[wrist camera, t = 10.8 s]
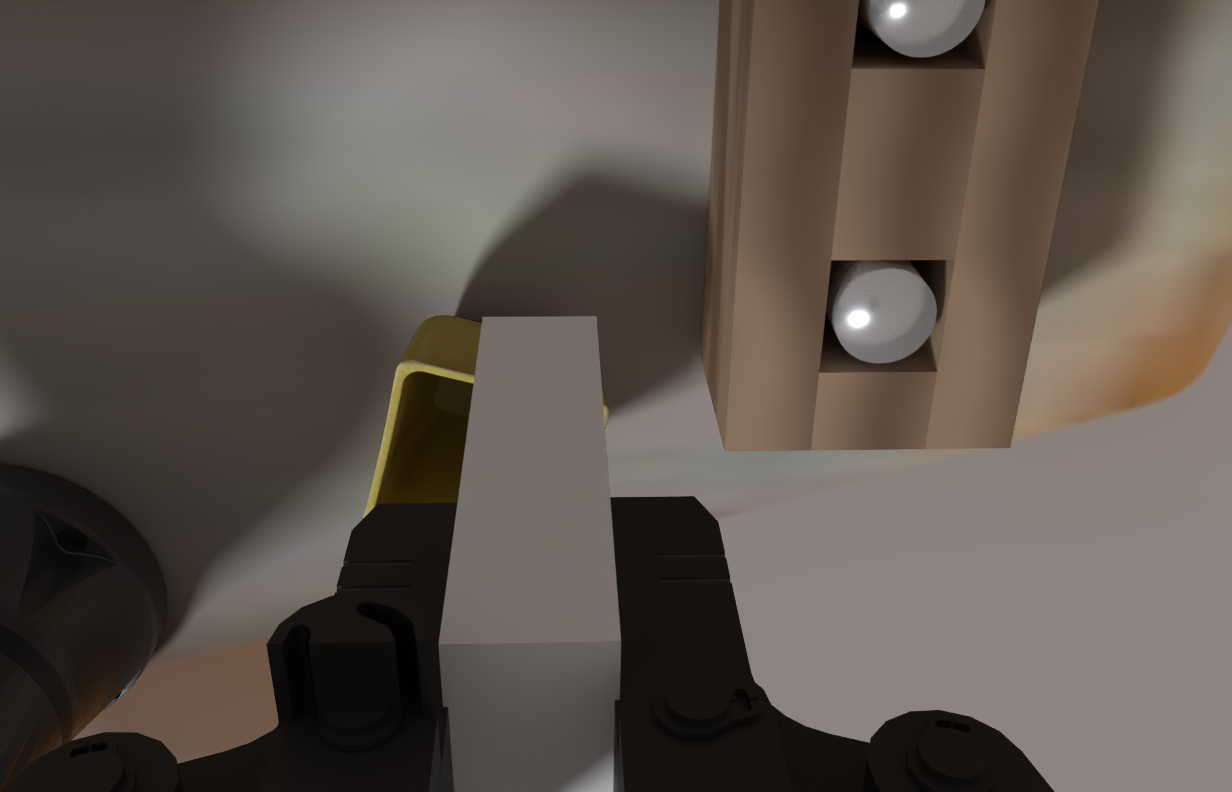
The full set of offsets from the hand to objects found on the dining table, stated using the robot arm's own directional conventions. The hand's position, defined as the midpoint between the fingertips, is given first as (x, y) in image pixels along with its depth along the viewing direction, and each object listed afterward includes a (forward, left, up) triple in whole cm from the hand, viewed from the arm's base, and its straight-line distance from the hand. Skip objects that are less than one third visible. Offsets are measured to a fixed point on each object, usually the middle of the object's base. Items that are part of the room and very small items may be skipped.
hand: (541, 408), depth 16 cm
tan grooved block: (+13, -5, -36) cm, 39 cm away
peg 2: (+13, -11, -36) cm, 40 cm away
